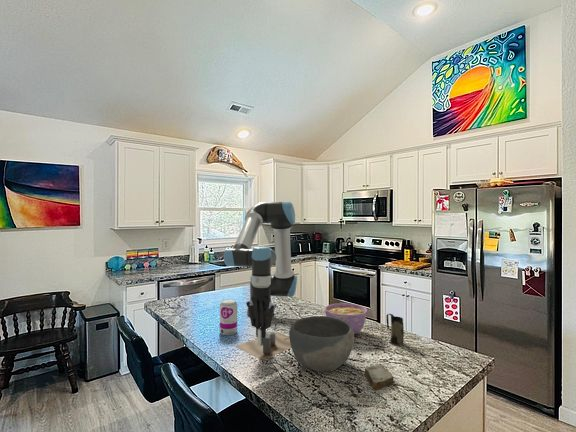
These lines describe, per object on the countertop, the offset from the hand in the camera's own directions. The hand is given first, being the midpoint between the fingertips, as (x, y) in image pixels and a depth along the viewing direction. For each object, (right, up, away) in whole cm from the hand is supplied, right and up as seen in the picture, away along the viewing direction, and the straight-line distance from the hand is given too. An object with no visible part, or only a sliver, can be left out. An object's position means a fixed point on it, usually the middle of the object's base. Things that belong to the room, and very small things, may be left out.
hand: (260, 344), depth 132 cm
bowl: (+23, -5, -8) cm, 25 cm away
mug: (+58, -5, +14) cm, 60 cm away
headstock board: (+3, -4, +9) cm, 10 cm away
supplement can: (-18, -5, +26) cm, 32 cm away
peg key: (+3, -3, +9) cm, 10 cm away
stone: (+42, -5, -18) cm, 46 cm away
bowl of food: (+38, -5, +26) cm, 46 cm away
